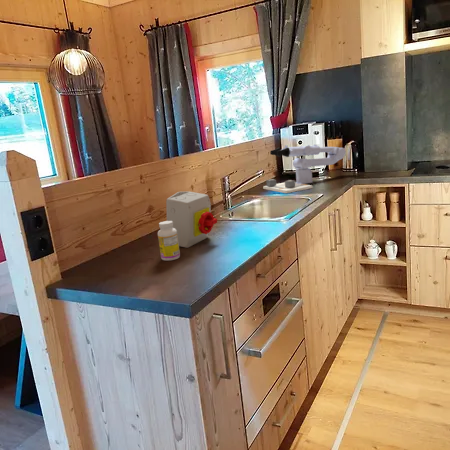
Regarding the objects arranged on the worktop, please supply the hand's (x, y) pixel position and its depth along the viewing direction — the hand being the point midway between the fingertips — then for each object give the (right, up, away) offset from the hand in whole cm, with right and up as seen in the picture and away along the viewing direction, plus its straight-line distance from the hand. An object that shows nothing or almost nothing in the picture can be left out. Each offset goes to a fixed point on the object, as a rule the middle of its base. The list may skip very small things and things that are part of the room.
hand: (273, 152), depth 260 cm
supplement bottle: (-48, -55, -110) cm, 132 cm away
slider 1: (-1, -19, +4) cm, 20 cm away
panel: (+8, -21, 0) cm, 23 cm away
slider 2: (+9, -21, -7) cm, 24 cm away
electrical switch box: (-41, -50, -94) cm, 114 cm away
